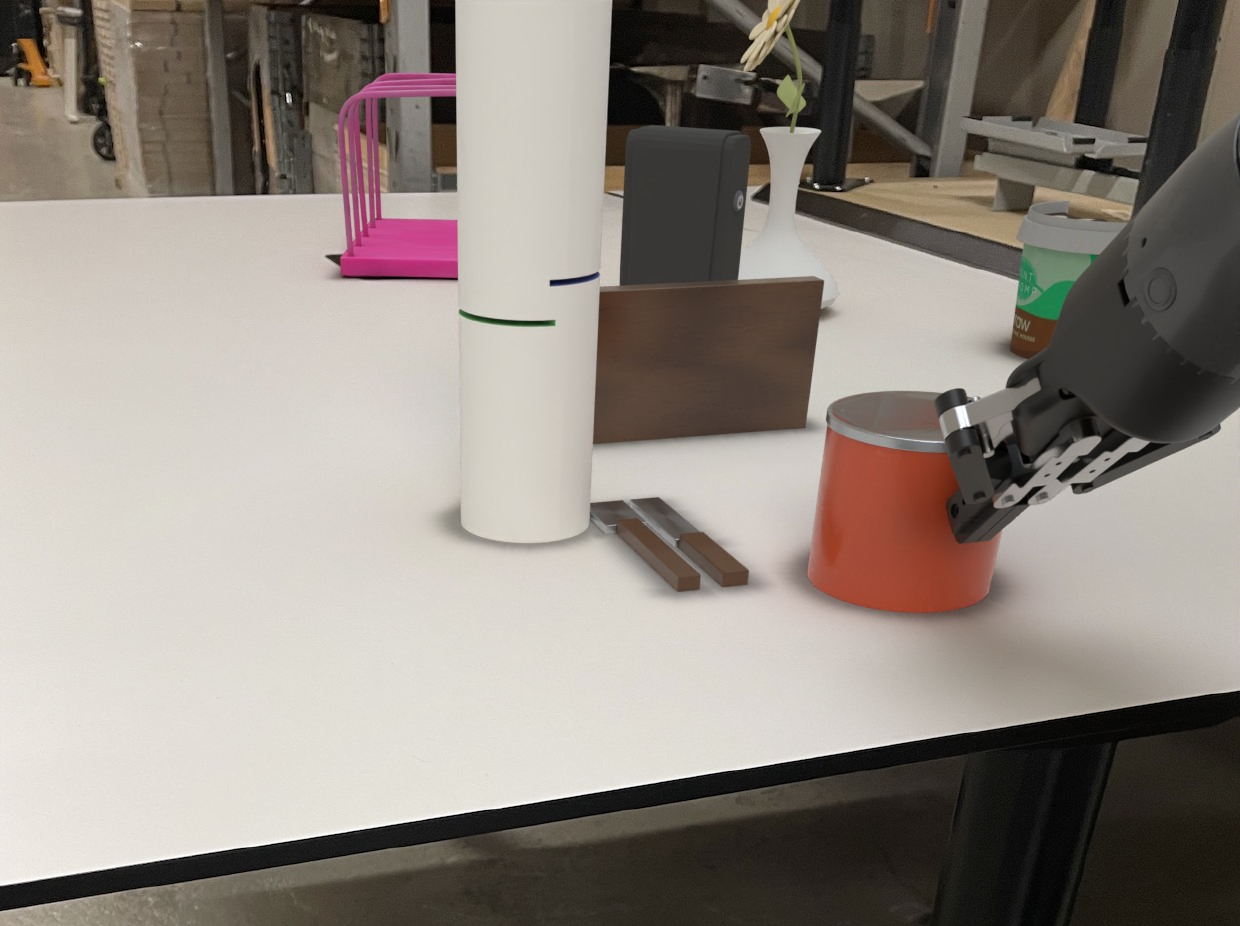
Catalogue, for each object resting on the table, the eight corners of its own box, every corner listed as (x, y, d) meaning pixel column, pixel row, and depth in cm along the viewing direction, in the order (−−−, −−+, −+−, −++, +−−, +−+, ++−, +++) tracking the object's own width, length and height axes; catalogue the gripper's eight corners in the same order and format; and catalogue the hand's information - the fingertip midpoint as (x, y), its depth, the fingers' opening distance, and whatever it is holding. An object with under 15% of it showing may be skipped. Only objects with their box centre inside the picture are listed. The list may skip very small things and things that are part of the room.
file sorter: (340, 279, 135) (329, 86, 126) (372, 236, 156) (364, 67, 146) (521, 282, 135) (523, 88, 125) (529, 239, 155) (532, 69, 146)
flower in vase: (721, 295, 130) (750, -39, 115) (845, 304, 127) (892, -38, 112) (688, 323, 120) (716, -38, 105) (822, 334, 117) (870, -37, 102)
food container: (967, 339, 116) (993, 201, 110) (1036, 336, 117) (1065, 199, 111) (1040, 375, 106) (1072, 225, 100) (1115, 371, 107) (1151, 223, 101)
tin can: (1014, 570, 72) (1050, 407, 68) (958, 628, 66) (994, 453, 61) (844, 538, 76) (867, 381, 72) (776, 589, 70) (797, 422, 65)
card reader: (738, 349, 112) (759, 130, 104) (715, 359, 110) (735, 135, 101) (637, 334, 116) (649, 123, 108) (613, 343, 114) (623, 127, 105)
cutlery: (751, 585, 71) (753, 569, 70) (666, 593, 70) (667, 578, 69) (658, 505, 81) (659, 491, 80) (582, 512, 80) (582, 497, 79)
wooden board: (796, 423, 95) (814, 275, 90) (806, 428, 94) (825, 280, 88) (570, 439, 91) (575, 287, 86) (578, 446, 90) (583, 292, 85)
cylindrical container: (614, 530, 77) (644, -33, 62) (500, 552, 74) (504, -33, 59) (546, 494, 82) (560, -34, 67) (438, 513, 79) (427, -35, 64)
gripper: (1357, 171, 50) (1068, 439, 67) (1034, 180, 47) (815, 459, 64) (1418, 363, 49) (1109, 587, 66) (1092, 385, 46) (854, 614, 63)
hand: (965, 524), depth 65 cm, fingers closed
